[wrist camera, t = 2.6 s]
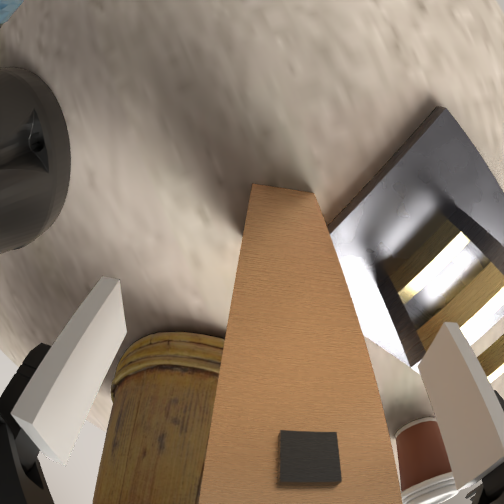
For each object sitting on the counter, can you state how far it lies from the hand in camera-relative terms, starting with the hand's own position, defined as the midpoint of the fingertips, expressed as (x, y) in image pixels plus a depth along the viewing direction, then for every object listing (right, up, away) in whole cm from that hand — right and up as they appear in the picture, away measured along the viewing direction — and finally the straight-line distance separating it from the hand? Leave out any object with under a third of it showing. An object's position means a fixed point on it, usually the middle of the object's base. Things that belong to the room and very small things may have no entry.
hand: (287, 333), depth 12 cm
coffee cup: (+21, -21, +23) cm, 38 cm away
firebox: (+14, +2, +11) cm, 17 cm away
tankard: (-8, -13, +20) cm, 25 cm away
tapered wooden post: (0, +5, +9) cm, 11 cm away
